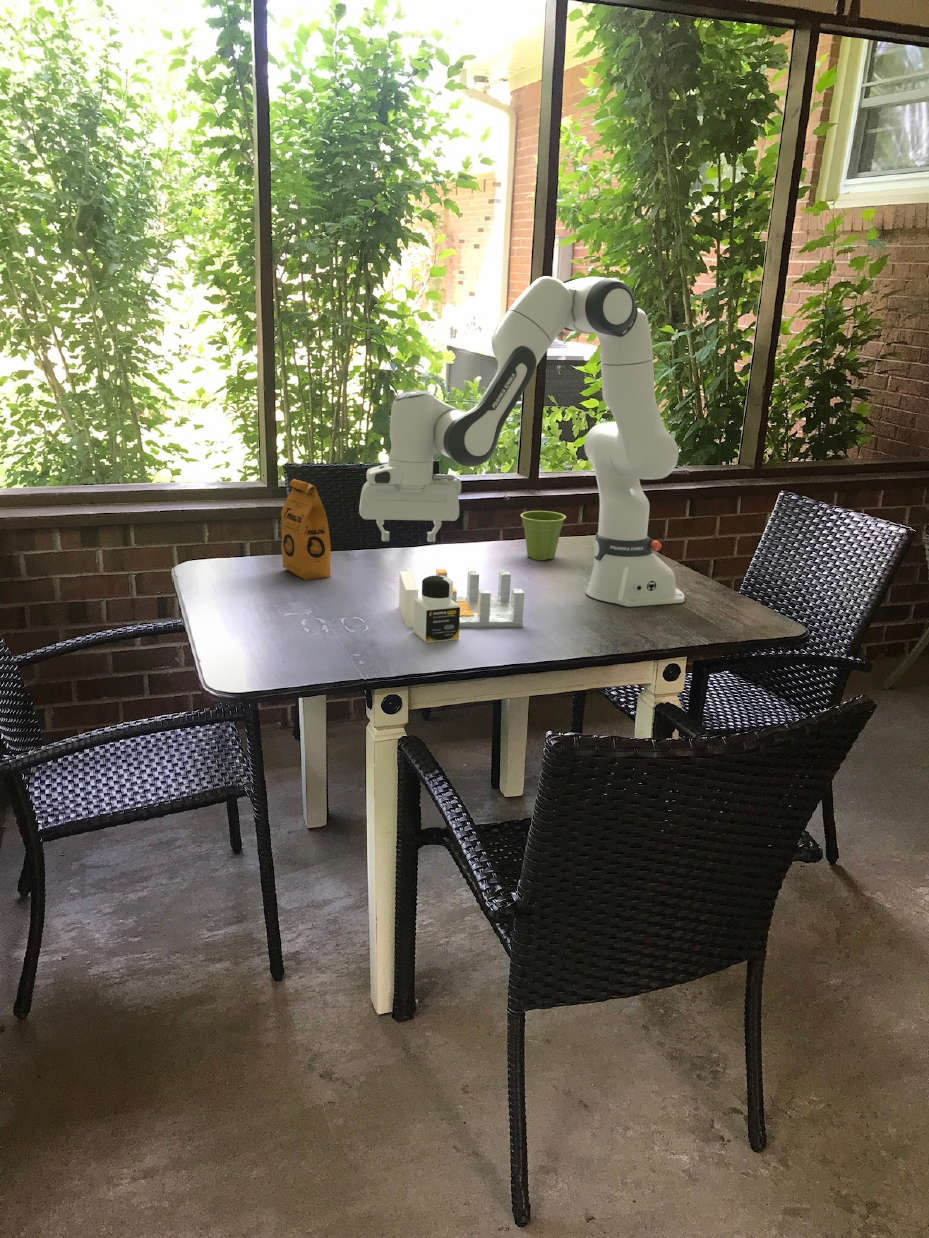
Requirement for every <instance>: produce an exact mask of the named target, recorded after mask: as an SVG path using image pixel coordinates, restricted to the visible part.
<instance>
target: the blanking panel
mask: <svg viewBox="0 0 929 1238" xmlns="http://www.w3.org/2000/svg"><path fill="white" fill-rule="evenodd" d="M398 580H399V584H398V585H399V586H398V587H399V588H398V589H399V591H398V608H399V611H400V615H401V619H402V621H403V625H404V628H413V625H414V599H416V598H419V589H418V586H417V583H416V581H415V578H414V576H413V573H412V571H402V570H400V571H399V579H398Z"/></svg>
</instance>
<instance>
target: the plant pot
mask: <svg viewBox="0 0 929 1238" xmlns="http://www.w3.org/2000/svg"><path fill="white" fill-rule="evenodd" d="M520 517H521V519H522V525H523V527H524V536H525V545H526V547H525V548H526V553H527V558H530V559H532V560H536V561H537V560H538V561H546V560H553V559H555V557H556V552H557V548H558V543H559V540H560V539H559V538H560V536H561V535H560V534H561V530H562V527H563V525H564V520H566V518H567V516H566V515H565V514H563V513H560V512H555V511H548V510H531V511H525V512H522V513H521V514H520Z"/></svg>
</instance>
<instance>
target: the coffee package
mask: <svg viewBox="0 0 929 1238" xmlns="http://www.w3.org/2000/svg"><path fill="white" fill-rule="evenodd" d="M289 486H290V487H292V488H291V491H290V492H289V494H288V497H287V498H286V500H285V502H284V504H283V507H282V509H281V513H280V516H281V543H280V548H281V557H282V567H283V568H284V569H286V570H287V571H290V572H292V573H293V574H294V575H295V576H297V577H300V578H302V579H303V580H306V581H307V580H311V579H312V580H315V579H322V578H324V579H325V578H330V577H331V548H332V545H331V537H330V529H329V528H330V527H329V523H328V517H327V513H326V510H325V508H324V505H323V504H322V500H321V498H320V496H319V493H318V491H317V488H316V486H315V485H313V484H311V483H309V482H306V481H302V480H299V479H295V478H293V479H292V480H291V481H290V482H289Z"/></svg>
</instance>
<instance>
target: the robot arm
mask: <svg viewBox="0 0 929 1238" xmlns="http://www.w3.org/2000/svg"><path fill="white" fill-rule="evenodd" d="M649 322H650V321H649V318H648V316H647V314H646V313H645V312H644V311H643V310H642V309H641V308H638V307H637V302H636V299H635V296H634V293H633V291H632V289H631V288H630V286H629V285H628V284H626V283H625V282H623V281H622V280H619V279H617V278H612V277H599V276H587V277H585V278H584V277H583V278H570V279H567V280H565V281H562V280H559V279H558V278H556V277H553V276H545V275H544V276H542V277H541V276H540V277H539V278H536V280H534V281H533V282H532V283H531V284H530V285H529V286H528V287H527V288H526V289H525V290H524V291H523V292H522V293H521V294H520V295H518V297H517V298H516V299H515V300H514V302H513V303H512V304H511V306H510V307H509V308H508V309H507V311H506V312H505V313H504V315H503V316H502V318H501V319H500V320H499V322H498V324H497V326H496V328H495V329H494V331H493V332H494V333H493V334H492V337H491V348H492V353H493V355H494V357H495V359H496V361H497V370H496V373H495V376H494V377H493V379H491V382H490V383H489V385H488V386H487V388H486V390H485V391H484V392H483V395H482V396H481V397H480V399H479V401H478V403H476V405H475V406H474V407H473V408H472V409H470V410H467V411H465V410H464V409H459V408H458V407H455V406H452V405H450V404H449V403H446V402H445V401H442V400H441V399H439V398H437V396H435V395H434V394H433V393H432V392H431V391H429V390H424V389H423V390H422V389H420V390H419V389H418V390H409V391H405V392H402V393H400V394H398V395H397V396H396V397H395V398H394V399H393V402H392V406H391V412H390V422H389V439H390V442H391V443H390V447H391V448H390V452H389V456H388V463H384V464H381V465H376V466H373V467H370V468H368V469H367V471H366V482H365V483H363V486H362V487H361V493H360V499H359V508H358V509H359V510H358V511H359V515H360V517H361V518H362V519H363V520H376V524H377V527H378V529H379V531H380V532H381V541H382V542H389V541H390V531H389V530H385V529H384V527H383V525H385V520H387V521H389V520H390V521H391V520H395V521H400V520H401V521H433V524H434V527H433V528H432V530H431V531H427V538H426V539H427V542H429V543H430V542H431V543H432V542H433V543H434V542H436V534H437V533H438V531H439V530H440V529H441V528H442V523H443V522H442V521H453V522H454V521H455V522H456V521H457V519H458V518H459V517H460V502H459V496H460V494H461V492H462V481H461V479H460V478H459V477H457V476H455V475H454V474H451V473H450V474H441V473H433V471H434V470H433V469H434V456H435V455H439V454H441V455H443V456H444V457H447V458H450V459H451V460H453V461H455V462H456V463H457V464H459V465H461V466H464V467H477V466H480V465H482V464H484V463H486V462H487V461H488V460H489V459H491V457H492V456H493V454H494V452H495V450H496V448H497V445H498V443H499V439H500V435H501V431H502V428H503V426H504V425H505V422H507V419H508V418H509V416H510V414H511V413H512V411H513V409H515V406H516V404H517V403H518V401H519V400H520V399H521V396H522V395H523V393H524V391H525V390H526V388H527V386H528V385H529V383H530V381H531V380H532V377H533V375H534V373H535V371H536V368H537V366H538V364H539V363H540V361H541V359H542V358H543V356H544V355H545V354H546V352H547V351H548V349H549V348H550V347H551V346H552V343H553V342H554V341H555V339H556V338H557V337H558V335H559V334H561V332H562V331H563V330H566V331H568V332H577V333H580V334H586V335H592V334H595V335H596V336H597V339H598V341H599V344H600V370H601V371H600V372H601V390H602V391H601V394H602V395H601V396H602V400H603V402H604V404H605V405H606V406H607V407H608V409H609V410H610V412H611V414H612V416H613V419H614V421H608V422H601V423H597V424H595V425H594V426H592V427H591V428H590V430H589V431H588V432H587V434H586V436H585V438H584V446H583V447H584V453H585V456H586V458H587V459H588V460H589V462H590V464H591V466H592V467H593V468H592V469H593V470H594V474H595V478H596V482H597V489H598V496H599V511H598V512H599V513H598V529H597V530H598V531H597V532H596V534H595V540H594V546H593V555H594V562H593V567H592V572H591V575H590V579H589V583H588V586H587V587H586V590H585V593H586V595H587V596H589V597H590V598H593V599H595V600H598V601H601V602H602V601H603V602H607V603H611V604H617V605H620V606H623V607H629V608H630V607H643V606H644V607H645V606H656V605H668V604H670V605H671V604H681V603H684V602H685V594H684V592H682V590H680V589H679V588H678V587H677V586H676V585H677V583H676V576H675V573H674V571H673V570H672V569H671V567H670V566H668V564H666V563H665V562H664V561H663V560H662V559H661V558H659V557H658V556H657V555H656V554H655V553H654V551H656V552H657V551H660V549H662V544H661V542H660V541H658V540H656V539H655V540H654V539H652V538H651V537H650V536H648V528H649V526H648V525H649V517H650V507H651V506H650V500H649V499H648V497H647V496H646V495H645V492H644V491H643V489H642V486H641V481H640V480H661V479H664V478H667V477H668V476H669V475H670V474H672V472H673V471H674V470H675V468H676V466H677V464H678V460H679V446H678V443H677V442H676V441H675V439H674V438H673V437H672V435H671V434H670V433H669V432H668V430H667V428H666V426H665V423H664V422H663V419H662V416H661V413H660V410H659V407H658V404H657V399H656V393H655V392H656V391H655V377H654V374H655V373H654V372H655V371H654V349H653V340H652V333H651V327H650V323H649Z"/></svg>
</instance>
